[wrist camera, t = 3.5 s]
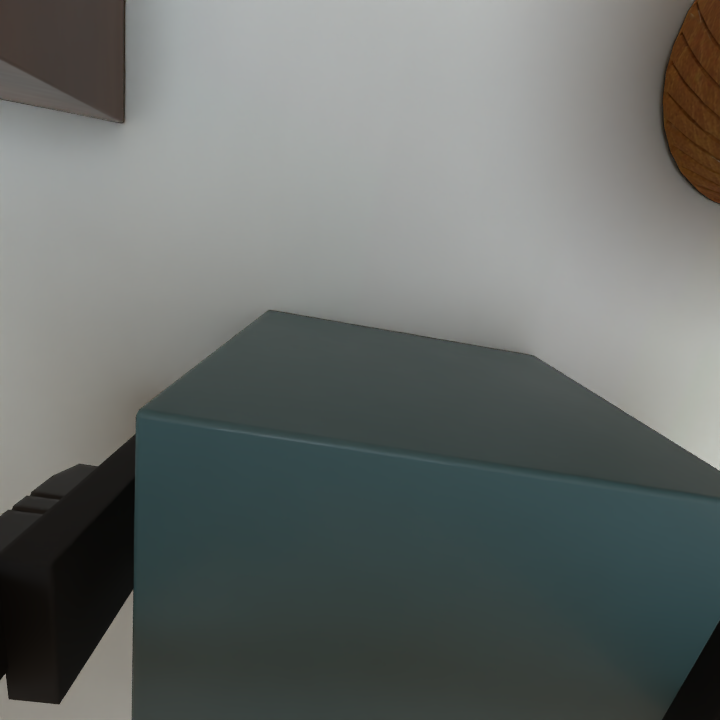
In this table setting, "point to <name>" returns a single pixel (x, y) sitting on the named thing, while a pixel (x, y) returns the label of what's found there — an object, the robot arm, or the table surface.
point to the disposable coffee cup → (696, 98)
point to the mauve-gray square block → (64, 55)
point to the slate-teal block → (410, 538)
